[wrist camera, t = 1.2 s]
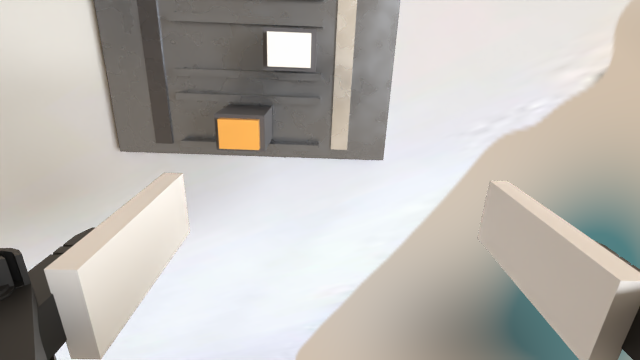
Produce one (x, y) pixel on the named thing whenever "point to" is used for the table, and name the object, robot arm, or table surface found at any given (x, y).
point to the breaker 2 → (289, 49)
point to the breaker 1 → (243, 128)
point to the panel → (249, 74)
